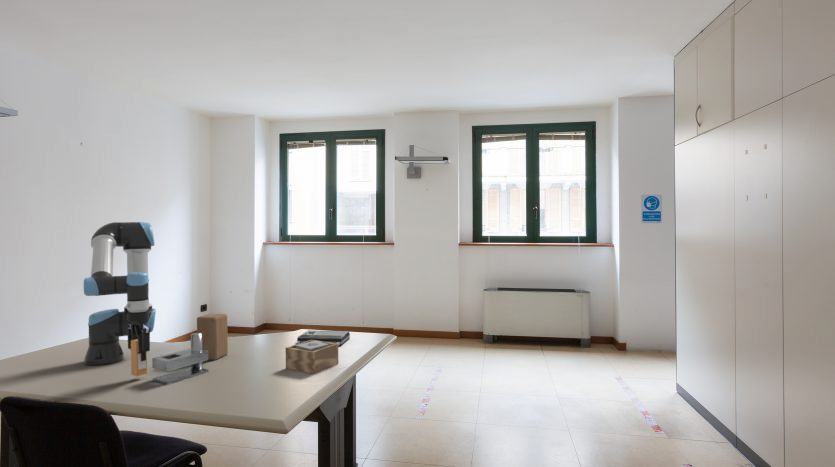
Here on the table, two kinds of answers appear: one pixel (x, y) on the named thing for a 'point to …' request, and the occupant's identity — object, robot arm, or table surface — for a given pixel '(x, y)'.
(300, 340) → the radio
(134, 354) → the orange square bar
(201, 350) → the grey slotted stand
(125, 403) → the table surface
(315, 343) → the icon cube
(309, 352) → the box
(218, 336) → the wooden block
